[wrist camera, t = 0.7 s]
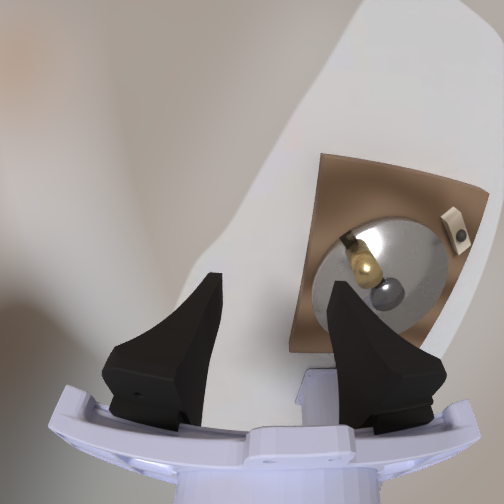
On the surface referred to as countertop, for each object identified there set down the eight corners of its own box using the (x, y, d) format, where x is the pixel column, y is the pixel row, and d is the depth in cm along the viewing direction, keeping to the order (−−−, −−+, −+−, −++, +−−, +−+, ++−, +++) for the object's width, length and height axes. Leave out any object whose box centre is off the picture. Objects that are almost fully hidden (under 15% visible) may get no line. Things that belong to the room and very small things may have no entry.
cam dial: (454, 285, 22) (475, 316, 18) (353, 350, 27) (361, 385, 23) (407, 176, 17) (440, 199, 13) (274, 273, 22) (274, 313, 18)
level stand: (415, 339, 29) (423, 359, 26) (288, 341, 29) (290, 366, 26) (480, 187, 18) (501, 201, 15) (320, 153, 19) (330, 163, 16)
